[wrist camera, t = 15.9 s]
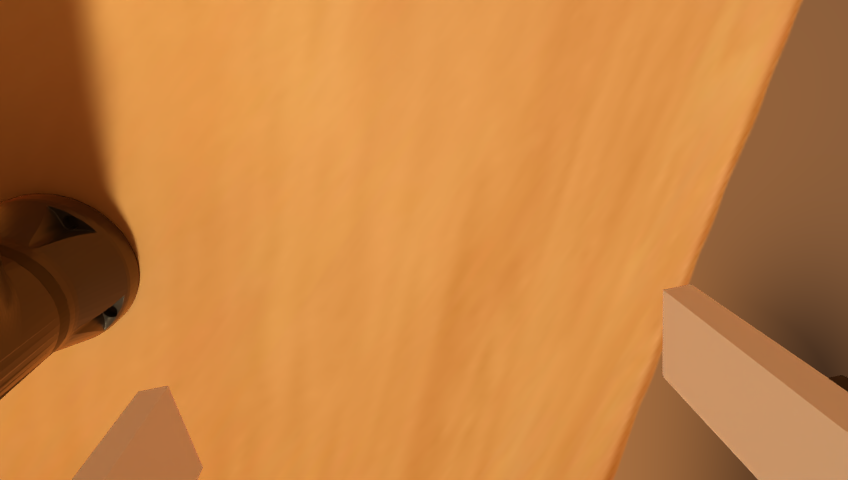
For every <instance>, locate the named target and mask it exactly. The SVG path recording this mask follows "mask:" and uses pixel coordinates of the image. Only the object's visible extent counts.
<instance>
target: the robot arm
mask: <svg viewBox="0 0 848 480" xmlns="http://www.w3.org/2000/svg"><path fill="white" fill-rule="evenodd" d="M138 285H139V270H138V264H137V261H136V257H135V255H134V252H133V250H132V248H131V246H130V244H129V242H128V241H127V239H126V238H125V236H124V235H123V234H122V232H121V231H120V230H119V229H118V228H117V227H116V226H115V225H114V224H113V223H112V222H111V221H110V220H109V219H108V218H106V217H105V216H104V215H102V214H101V213H100V212H98V211H96V210H95V209H93V208H91V207H90V206H88V205H86V204H84V203H81V202H79V201H76V200H73V199H70V198H67V197H63V196H58V195H52V194H30V195H24V196H19V197H16V198H13V199H10V200H7V201H4V202H1V203H0V399H2V398H3V397H4V396H5V395H6V394H7V393H8V392H9V391H10V390H12V389H13V388H14V387H15V386H16V385H17V384H18V383H19V382H21V381H22V380H23V379H24V378H25V377H26V376H27V375H28V374H29V373H31V372H32V371H33V370H34V369H35V368H36V367H37V366H38V365H39V364H41V363H42V362H43V361H44V360H45V359H46V358H47V357H48V356H50V355H51V354H52V353H53V352H55V351H58V350H61V349H64V348H66V347H69V346H72V345H75V344H78V343H80V342H83V341H86V340H89V339H91V338H94V337H96V336H98V335H99V334H101V333H103V332H105V331H106V330H107V329H109V328H110V327H111V326H113V325H114V324H115V323H116V322H117V321H118V320H119V319H120V318H121V317H122V316H123V315H124V314H125V313H126V312H127V311H128V309H129V308H130V307H131V305H132V303H133V301H134V299H135V297H136V294H137V290H138ZM663 377H664V378H665V379H666V380H667V381H668V382H669V383H670V385H671V386H672V387H673V388H674V389H675V390H676V391H677V392H678V393H679V394H680V395H681V397H682V398H683V399H684V400H685V401H686V402H687V403H688V404H689V405H690V406H691V407H692V408H693V410H695V412H696V413H697V414H698V415H699V416H700V417H701V418H702V419H703V420H704V421H705V423H706V424H707V425H708V426H709V427H710V428H711V429H712V430H713V431H714V432H715V433H716V434H717V436H718V437H719V438H720V439H721V440H722V441H723V442H724V443H725V444H726V445H727V446H728V447H729V449H730V450H731V451H732V452H733V453H734V454H735V455H736V456H737V457H738V458H739V459H740V460H741V462H742V463H743V464H744V465H745V466H746V467H747V468H748V469H749V470H750V471H751V472H752V473H753V474H754V476H755V477H756V478H757V479H758V480H848V378H847V377H845V376H842V375H840V376H835V377H831V378H827V377H826V376H824V375H822V374H821V373H819V372H818V371H817V370H815V369H814V368H812V367H811V366H809V365H808V364H807V363H805V362H804V361H802V360H801V359H799V358H798V357H796V356H795V355H793V354H792V353H791V352H789V351H788V350H786V349H785V348H783V347H782V346H780V345H779V344H777V343H776V342H775V341H773V340H772V339H770V338H769V337H767V336H766V335H764V334H763V333H761V332H760V331H759V330H757V329H755V328H754V327H753V326H751V325H750V324H748V323H747V322H745V321H744V320H743V319H741V318H740V317H738V316H737V315H735V314H733V313H732V312H731V311H729V310H728V309H726V308H725V307H723V306H722V305H721V304H719V303H718V302H716V301H715V300H713V299H712V298H710V297H709V296H708V295H706V294H705V293H703V292H702V291H700V290H699V289H697V288H696V287H694V286H693V285H692V284H690V285H685V286H680V287H675V288H669V289H664V290H663ZM202 468H203V467H202V464H201V462H200V460H199V457H198V455H197V453H196V450H195V448H194V445H193V443H192V441H191V438H190V436H189V434H188V431H187V429H186V427H185V424H184V422H183V420H182V417H181V415H180V413H179V410H178V408H177V406H176V403H175V401H174V399H173V396H172V394H171V391H170V389H169V387H168V386H164V387H159V388H154V389H149V390H144V391H139V392H138V393H137V394H136V395H135V397H134V398H133V399H132V401H131V402H130V403H129V405H128V406H127V407H126V409H125V410H124V411H123V413H122V414H121V415H120V417H119V418H118V419H117V421H116V422H115V423H114V424H113V426H112V427H111V428H110V430H109V431H108V432H107V434H106V435H105V436H104V438H103V439H102V440H101V442H100V443H99V444H98V446H97V447H96V448H95V450H94V451H93V452H92V454H91V455H90V456H89V458H88V459H87V460H86V461H85V463H84V464H83V465H82V467H81V468H80V469H79V471H78V472H77V473H76V475H75V476H74V477H73V479H72V480H197V479H198V477H199V475H200V473H201V471H202Z"/></svg>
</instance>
